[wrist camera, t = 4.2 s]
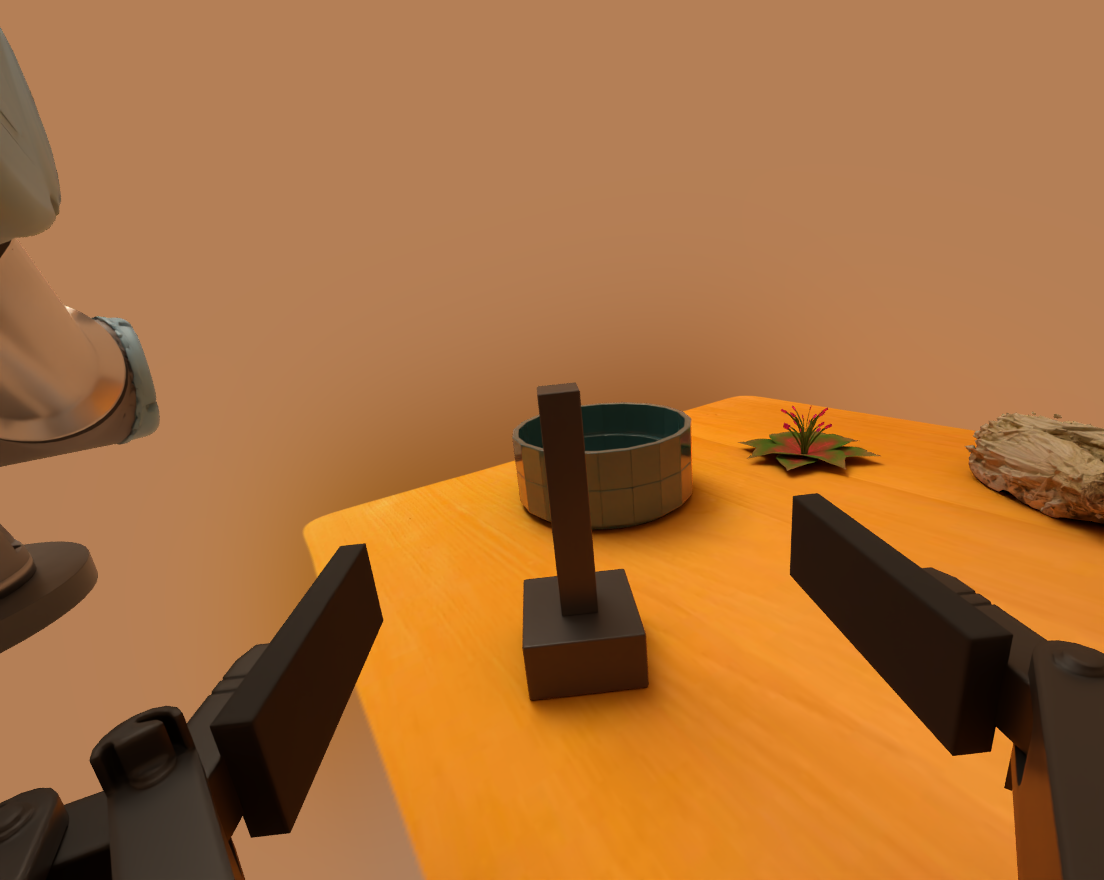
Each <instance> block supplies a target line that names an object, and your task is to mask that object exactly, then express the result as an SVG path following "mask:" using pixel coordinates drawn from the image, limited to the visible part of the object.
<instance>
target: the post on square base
mask: <svg viewBox="0 0 1104 880" xmlns="http://www.w3.org/2000/svg"><path fill="white" fill-rule="evenodd" d="M537 396H538V406H539V415H540V424H541V433H542V442H543V451H544V460H545V469H546V478H547V487H548V496H549V505H550V515H551V524H552V533H553V542H554V551H555V560H556V569H557V576H554V577H545V578H536V579H527V580H524V594H523V647H522V648H523V656H524V663H525V670H526V677H527V684H528V691H529V698H530V700H539V699H548V698H557V697H566V696H574V695H583V694H592V693H601V692H609V691H618V690H627V689H636V688H645V687H648V685H649V682H648V664H647V645H646V633H645V630H644V627H643V624H642V621H641V618H640V615H639V612H638V609H637V606H636V603H635V600H634V597H633V594H632V591H631V588H630V585H629V582H628V579H627V576H626V573H625V570H624V569H617V570H608V571H599V572H595V564H594V552H593V540H592V529H591V517H590V505H589V494H588V482H587V470H586V459H585V447H584V435H583V423H582V412H581V400H580V391H579V389H578V387H577V384H576V383H567V384H558V385H549V386H539V387H537Z"/></svg>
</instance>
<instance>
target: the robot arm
mask: <svg viewBox="0 0 1104 880" xmlns="http://www.w3.org/2000/svg"><path fill="white" fill-rule="evenodd" d="M60 202H61V195H60V187H59V180H58V174H57V170H56V167H55V162H54V158H53V154H52V151H51V147H50V144H49V141H48V138H47V135H46V132H45V130H44V127H43V124H42V122H41V119H40V117H39V114H38V111H37V108H36V106H35V102H34V100H33V97H32V95H31V92H30V90H29V87H28V85H27V82H26V80H25V78H24V76H23V73H22V71H21V68H20V66H19V64H18V62H17V59H16V57H15V55H14V52H13V50H12V49H11V47H10V45H9V43H8V41H7V39H6V37H5V35H4V33H3V31H2V29H1V28H0V467H2V466H7V465H11V464H17V463H21V462H27V461H32V460H37V459H42V458H47V457H52V456H57V455H62V454H67V453H72V452H77V451H82V450H86V449H92V448H97V447H101V446H107V445H112V444H124V443H128V442H130V441H131V440H133V439H137V438H141V437H145V436H148V435H150V434H152V433H153V432H155V431H156V429H157V428H158V426H159V420H160V419H159V418H160V416H159V409H158V405H157V402H156V393H155V389H154V385H153V381H152V377H151V374H150V370H149V367H148V364H147V361H146V358H145V355H144V352H143V349H142V346H141V344H140V341H139V339H138V336H137V334H136V333H135V332H134V330H133V328H132V326H131V324H130V323H129V322H127V321H126V320H123V319H121V318H106V317H99V316H98V317H94V318H90V317H88V316H86V315H85V314H83V313H81V312H79V311H77V310H75V309H73V308H70V307H67V306H65V305H64V304H63V303H62V302H61V300H60V299H59V297H58V296H57V294H56V293H55V292H54V290H53V289H52V287H51V286H50V285H49V283H48V282H47V280H46V279H45V278H44V276H43V275H42V273H41V272H40V270H39V269H38V268H37V266H36V265H35V263H34V262H33V260H32V259H31V258H30V256H29V255H28V253H27V252H26V250H25V249H24V248H23V246H22V245H21V243H20V242H19V240H18V239H17V237H28V236H34V235H37V234H40V233H42V232H44V231H45V230H47V229H49V228H50V227H51V225H52V224H53V222H54V221H55V219H56V216H57V215H58V214H59V205H60ZM35 571H36V566H35V563H34V561H33V559H32V557H31V555H30V553H29V552H28V550H27V549H26V547H25V546H24V545H23V544H22V543H21V542H19V541H17V540H15V539H14V538H13V537H12V536H11V534H10V533H9V532H8V531H7V530H6V529H5V528H4V527H3V526H2V525H1V524H0V600H1V599H2V598H4V597H6V596H7V595H9V594H11V593H12V592H14V591H15V590H17V589H18V588H19V587H21V586H22V585H23V584H24V583H26V582H27V581H28V580H29V579H30V578H31V577H32V576H33V574H34V573H35ZM790 575H791V577H792V578H793V579H794V580H795V581H796V582H797V583H798V584H799V585H800V587H801V588H802V589H803V590H804V591H805V592H806V593H807V594H808V595H809V597H810V598H811V599H812V600H813V601H814V602H815V603H816V604H817V605H818V607H819V608H820V609H821V610H822V611H823V612H824V613H825V614H826V615H827V617H828V618H829V619H830V620H831V621H832V622H833V623H834V624H835V625H836V627H837V628H838V629H839V630H840V631H841V632H842V633H843V634H844V635H845V637H846V638H847V639H848V640H849V641H850V642H851V643H852V644H853V645H854V647H855V648H856V649H857V650H858V651H859V652H860V653H861V654H862V655H863V657H864V658H865V659H866V660H867V661H868V662H869V663H870V664H871V665H872V667H873V668H874V669H875V670H876V671H877V672H878V673H879V674H880V676H881V677H882V678H883V679H884V680H885V681H886V682H887V683H888V684H889V686H890V687H891V688H892V689H893V690H894V691H895V692H896V693H897V694H898V696H899V697H900V698H901V699H902V700H903V701H904V702H905V703H906V704H907V706H908V707H909V708H910V709H911V710H912V711H913V712H914V713H915V714H916V716H917V717H918V718H919V719H920V720H921V721H922V722H923V723H924V724H925V726H926V727H927V728H928V729H929V730H930V731H931V732H932V733H933V734H934V736H935V737H936V738H937V739H938V740H939V741H940V742H941V743H942V744H943V746H944V747H945V748H946V749H947V750H948V751H949V752H950V753H951V754H952V756H957V755H965V754H974V753H982V752H991V749H992V743H993V738H994V733H995V728H996V727H997V728H998V729H999V730H1000V731H1001V732H1002V733H1003V734H1005V735H1006V736H1007V737H1008V738H1009V739H1010V740H1011V741H1012V742H1013V748H1012V753H1011V758H1010V763H1009V767H1008V772H1007V777H1006V782H1005V787H1004V788H1006V789H1008V790H1011V791H1012V789H1013V804H1014V820H1015V835H1016V850H1017V866H1018V880H1104V653H1101V652H1099V651H1097V650H1095V649H1092V648H1089V647H1086V646H1083V645H1080V644H1077V643H1071V642H1065V641H1059V640H1056V641H1047V640H1046V639H1044V638H1043V637H1041V636H1040V635H1038V634H1037V633H1036V632H1034V631H1033V630H1031V629H1030V628H1028V627H1027V626H1025V625H1024V624H1022V623H1021V622H1019V621H1018V620H1017V619H1015V618H1014V617H1012V616H1011V615H1009V614H1008V613H1006V612H1005V611H1003V610H1002V609H1001V608H999V607H998V606H996V605H992V604H991V602H990V601H989V600H987V599H986V598H985V597H983V596H982V595H980V594H976V593H975V591H974V590H973V589H971V588H970V587H968V586H967V585H966V584H964V583H963V582H961V581H960V580H958V579H957V578H955V577H953V576H950V575H948V574H946V573H943V572H941V571H938V570H936V569H934V568H931V567H930V568H921V567H919V566H918V565H916V564H915V563H914V562H912V561H911V560H910V559H908V558H907V557H905V556H904V555H903V554H901V553H900V552H898V551H897V550H896V549H894V548H893V547H892V546H890V545H889V544H887V543H886V542H885V541H883V540H882V539H880V538H879V537H878V536H876V535H875V534H873V533H872V532H871V531H869V530H868V529H867V528H865V527H864V526H862V525H861V524H860V523H858V522H857V521H855V520H854V519H853V518H851V517H850V516H849V515H847V514H846V513H844V512H843V511H842V510H840V509H839V508H837V507H836V506H835V505H833V504H832V503H831V502H829V501H828V500H826V499H825V498H824V497H822V496H821V495H819V494H818V493H816V494H807V495H798V496H793V509H792V535H791V560H790ZM382 622H383V617H382V613H381V608H380V604H379V600H378V595H377V591H376V587H375V582H374V578H373V574H372V570H371V565H370V561H369V557H368V552H367V548H366V544H356V545H347V546H340V547H339V549H338V550H337V551H336V553H335V554H334V556H333V557H332V558H331V560H330V561H329V562H328V564H327V565H326V567H325V568H324V569H323V571H322V572H321V573H320V575H319V576H318V577H317V579H316V580H315V582H314V583H313V584H312V586H311V587H310V588H309V590H308V591H307V593H306V594H305V596H304V597H303V598H302V599H301V601H300V602H299V604H298V605H297V606H296V608H295V609H294V610H293V612H292V613H291V615H290V616H289V617H288V619H287V620H286V622H285V623H284V624H283V626H282V627H281V628H280V630H279V631H278V632H277V634H276V635H275V637H274V638H273V639H272V641H271V642H270V643H268V644H259V645H255V646H254V647H253V648H251V649H250V650H249V651H248V652H246V653H245V654H244V655H243V656H241V657H240V658H239V659H237V660H236V661H235V663H234V664H233V665H232V666H231V668H230V669H229V670H228V672H227V673H226V674H225V675H224V677H223V680H222V681H220V682H219V683H218V684H217V686H216V687H215V688H214V689H213V691H212V694H211V695H209V696H208V697H207V698H206V700H205V701H204V702H203V703H202V705H201V706H200V707H199V709H198V710H197V711H196V712H195V714H194V715H193V716H192V717H191V719H190V720H189V721H188V723H186V721H185V718H184V716H183V713H182V712H181V711H180V710H179V709H178V708H177V707H171V706H164V707H158V708H152V709H150V710H147V711H145V712H142V713H140V714H137V715H135V716H133V717H131V718H130V719H128V720H126V721H124V722H123V723H121V724H119V725H118V726H116V727H115V728H114V729H113V730H111V731H110V732H109V733H108V734H107V735H105V736H104V737H103V738H102V739H101V740H100V741H99V743H98V744H97V745H96V746H95V748H94V749H93V750H92V754H91V757H90V763H91V765H92V767H93V769H94V771H95V774H96V776H97V778H98V780H99V782H100V784H101V786H102V788H103V790H104V791H102V792H99V793H97V794H94V795H91V796H88V797H85V798H83V799H80V800H77V801H74V802H71V803H69V804H66V805H63V803H62V801H61V799H60V797H59V795H58V793H56V792H55V791H54V790H53V789H52V788H37V789H34V790H31V791H27V792H24V793H21V794H19V795H16V796H14V797H13V798H10V799H8V800H6V801H4V802H2V803H0V880H245V878H244V875H243V871H242V868H241V865H240V862H239V858H238V856H237V852H236V849H235V846H234V844H233V841H232V838H231V836H232V835H233V832H234V831H235V829H236V827H237V825H238V823H239V822H240V820H241V818H242V816H243V818H244V820H245V823H246V825H247V828H248V831H249V834H250V836H251V838H252V837H261V836H269V835H278V834H286V833H290V832H291V830H292V828H293V826H294V823H295V821H296V819H297V816H298V814H299V812H300V809H301V807H302V805H303V803H304V800H305V798H306V796H307V793H308V791H309V789H310V787H311V784H312V782H313V780H314V777H315V775H316V773H317V771H318V768H319V766H320V764H321V762H322V759H323V757H324V755H325V753H326V750H327V748H328V746H329V743H330V741H331V739H332V737H333V734H334V732H335V730H336V727H337V725H338V723H339V721H340V718H341V716H342V714H343V711H344V709H345V707H346V704H347V702H348V700H349V698H350V695H351V693H352V691H353V689H354V686H355V684H356V682H357V679H358V677H359V675H360V673H361V670H362V668H363V666H364V663H365V661H366V659H367V657H368V654H369V652H370V650H371V647H372V645H373V643H374V641H375V638H376V636H377V634H378V631H379V629H380V627H381V625H382Z"/></svg>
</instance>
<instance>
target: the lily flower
mask: <svg viewBox="0 0 1104 880" xmlns="http://www.w3.org/2000/svg"><path fill="white" fill-rule="evenodd" d="M792 408H793V409H794V410H795V411H796V409H795V407H794V406H792ZM810 409H811V407H810ZM826 410H828V408H826V409H824V410H823V411H822V412H821V413H820V414H819V415H818V416H817V414H815V415H814V417H813V418H812V419H811V421H810V420H809V422H810V425H809V423H808V425H809V427H807V424H806V427H807V428H808V429H807V431H805V432H804V427H803V426H804V419H803V424H802V421H801V419H800V417H799V415H798V413H797V411H796V413H797V415H798V417H799V419H800V422H801V424H802V427H801V425H800V424H799V420H798V418H797V417H796V415H795V414H794V413H790V414H791V415H792V416H793V417H795V418H796V420H795V419H794V418H793V417H792V416H791V415H790V414H789V413H787V411H786V410H782V409H781V411H783V412H784V413H787V414H788V415H789V416H790V417H791V418H792V419H793V420H794V423H795V424H796V425H797V426H798V428H799V431H800V433H798V432H797V431H796V430H795V429H794V428H792V427H790V425H788V424H786V423H784V426H783V427H784V428H785V429H787V430H789V431H790V432H783V433H778V434H771V435H769V436H770V438H771V439H772V440H771V439H755V440H750V441H747V442H738V443H742V444H746V445H750V446H753V447H756V449H755V450H754V451H753V454H752V456H749V457H748V458H752V457H757V456H761V455H766V454H770V453H780V455H777V456H776V459H777V460H778V461H779V462H780V463H781V464H782V465H783V466H785V467H786V469H787V471H788V470H790V469H793V468H796V467H798V466H802V465H805V464H808V463H813V462H816V461H818V459H821V460H824V461H826V462H829V463H831V464H834V465H837V466H839V467H841V468H844V469H846V468H845V462H844V460H845V459H846V458H845V457H853V456H880V455H876V454H874V453H872V452H867V450H865V449H862V448H858V447H845V446H843V445H845V444H847V443H849V442H851V441H858V440H853V439H850V438H844V437H842V436H839V435H836V434H825V433H821V432H822V431H823V430H825V429H827V428H828V427H829V428H830V427H831V426H832V424H830V425H827V426H826V427H825V428H824V429H822V430H821V429H820V428H818V429H817V430H816V431H815V429H816V428H817V427H816V428H815V429H814V430H813V431H812V429H813V427H814V425H815V423H816V421H817V419H818V417H820V416H822V415H823V414H824V413H825V411H826ZM809 412H810V411H809ZM808 416H809V415H808ZM816 416H817V417H816ZM815 417H816V418H815ZM802 418H803V415H802ZM814 418H815V419H814ZM813 419H814V420H813ZM812 420H813V421H812ZM807 421H808V419H807ZM823 424H824V422H822V423H821V424H819V425H818V427H819V426H821V425H823ZM811 425H812V426H811ZM788 427H790V428H792V429H793V430H794V431H795V432H793V431H791V430H790V429H789V428H788ZM802 428H803V429H802ZM820 430H821V431H820ZM819 431H820V432H819ZM794 454H799V455H794ZM800 455H805V456H800ZM748 458H747V459H748Z"/></svg>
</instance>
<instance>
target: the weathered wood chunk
mask: <svg viewBox="0 0 1104 880" xmlns="http://www.w3.org/2000/svg"><path fill="white" fill-rule="evenodd" d="M1032 414H1036V413H1034V412H1032ZM1054 418H1062V417H1061V415H1057V414H1054ZM997 420H998V421H997V422H996V421H989V425H988V424H985V425H983V426H981V427H980V430H979V431H975V433H974V435H973V437H975V438H977V440H976V441H975V442H976V444H977V447H976V448H975V446H973V445H970V446H965V447H966V448H967V449H968V450H969V452H971V454H970V457H969V466H970V469H971V470H972V472H973V474H974V475H975V476H976V477H977V478H978V479H979V480H980V481H981V482H983V483H984V484H985V485H987V486H989V487H991V488H992V489H994V490H996V491H998V492H999V491H1000V490H1003V489H1004V490H1006V491H1009V492H1010V493H1011V494H1013V495H1014V496H1015V497H1016V498H1017V499H1018V500H1019V501H1022V502H1023V503H1024V504H1028V505H1029V506H1031V507H1033V508H1036V509H1039V510H1040V512H1041V511H1042V512H1043V513H1044V514H1046V515H1048V516H1051V517H1055V518H1059V517H1065V518H1072V519H1079V520H1086V521H1093V522H1099V523H1103V524H1104V429H1103V428H1098V427H1093V426H1092V425H1091V424H1087V425H1084V424H1081V423H1078V422H1074V421H1073V422H1069V421H1068V422H1063V423H1062V422H1059V421H1056V420H1053V419H1050V418H1046V417H1043V416H1039V417H1036V416H1030V415H1028V416H1027V415H1020V414H1018V413H1015V414H1009V413H1007V414H1006V415H1005V414H1002V415H1001V417H998V418H997Z"/></svg>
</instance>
